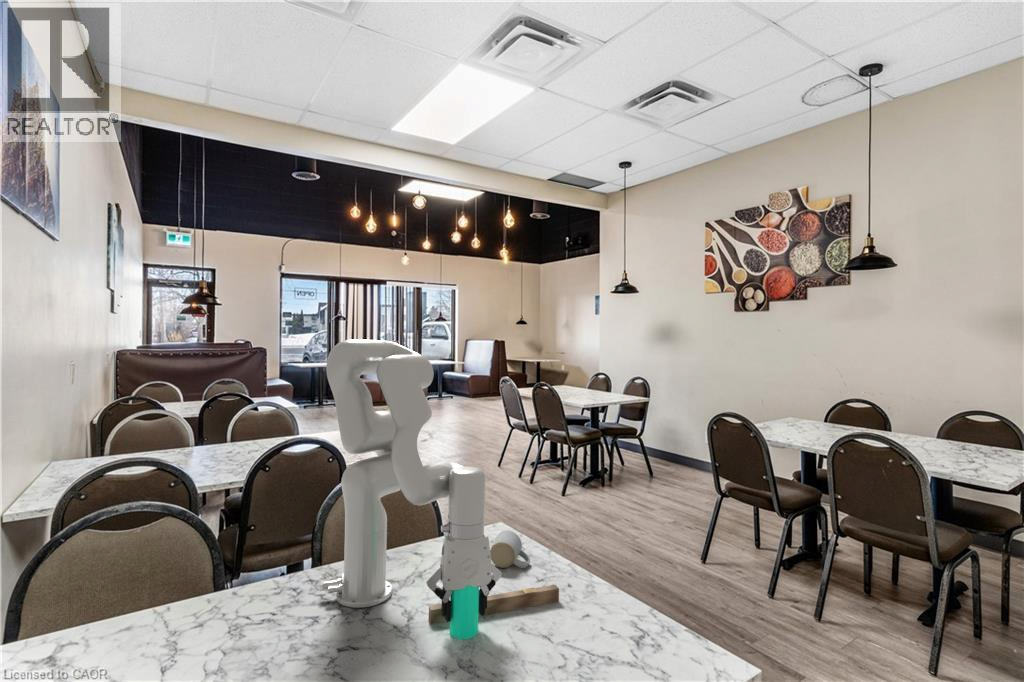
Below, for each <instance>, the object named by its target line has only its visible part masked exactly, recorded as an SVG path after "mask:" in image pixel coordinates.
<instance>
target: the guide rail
mask: <svg viewBox="0 0 1024 682" xmlns="http://www.w3.org/2000/svg"><path fill="white" fill-rule="evenodd" d="M559 599H560V588H559V587H558V586H557V585H556V584H552V585H544V586H540V587H534V586H533V587H528V588H522V589H521V590H516V591H509V592H503V593H502V592H501V593H497V594H492V595H491V594H489V595H488V596H487V609H485V616H486V615H491V614H492V615H493V614H497V613H501V612H502V613H503V612H507V611H514V610H520V609H525V608H531V607H535V606H542V605H548V604H553V603H558V602H559V601H560V600H559ZM441 607H442V603H437V604H431V605H428V621H429V624H430V625H437V624H442V623H448V622H447V621H446V619H445V617H443V616H442V613H441ZM480 616H481V614H480V613H479V611H478V617H480ZM481 617H482V616H481Z"/></svg>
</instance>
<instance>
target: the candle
mask: <svg viewBox="0 0 1024 682" xmlns="http://www.w3.org/2000/svg"><path fill="white" fill-rule="evenodd" d="M479 590H480V587H472V585H470V586H465V588H464V589H461V590H455V591H452V593H451V596H450V598H449V600H450V602H451V621H450V622H449V634H450V635H451V636H452V637H453V638H455V639H459V640H469V639H470V638H471V639H472V638H474V637H476V635H478V633H479V616H478V610H479Z"/></svg>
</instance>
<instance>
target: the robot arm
mask: <svg viewBox="0 0 1024 682" xmlns="http://www.w3.org/2000/svg"><path fill="white" fill-rule="evenodd" d="M325 367H326V368H325V370H326V371H325V372H326V377H327V378H326V379H327V381H328V384H329V387H330V390H331V393H332V396H333V399H334V404H335V410H336V417H337V422H338V423H337V424H338V428H339V434H340V439H341V444H342V447H343V449H344V451H346V452H347V453H348V454H350V455H361V454H362V455H364V454H367V453H373V452H376V455H377V456H373V457H367V458H364V459H361V460H356V461H355V462H353V463H351V464H349V466H347V467H346V468H345V470H344V471H343V474H342V477H341V481H340V483H341V484H340V485H341V491H342V497H343V502H344V546H343V547H344V550H343V551H344V553H343V554H344V556H343V557H344V558H343V559H344V560H343V572H342V573H341V577H337V579H335V580H331V579H330V580H324V581H322V591H328V594H335V593H336V594H335V595H336V596H335V598H336V601H337V603H338V604H340V605H341V606H343V607H348V608H352V609H353V608H355V609H359V608H360V609H361V608H369V607H374V606H376V605H379V604H381V603H383V602H385V601H387V600H388V599H389V598H390V597H391V595H392V593H393V585H392V584H391V582H389V581H388V580H386V578H387V577H386V575H387V539H388V538H387V537H388V534H387V533H388V516H387V512H386V510H385V507H384V505H383V503H382V500H381V498H383V497H385V496H387V495H390V494H394V493H397V492H399V491H401V492H402V494H403V496H404V497H405V499H406V500H407V501H408V502H409V503H411V504H412V505H415V506H425V505H427V504H430V503H433V502H435V501H438V500H441V499H445V498H448V509H447V510H448V511H447V521H446V524H444V525H440V531H441V533H446V534H445V535H444V538H443V543H442V548H441V552H440V553H441V555H440V563H439V564H440V565H439V568H438V569H437V570H436V571H435V572H434V573H433V574H432V575H431V576H430V577H429V579H427V581H426V585H427V586H426V587H428V588H429V589H430V590H431V591H432V592H433V593H434V594H435V595H436V596H437V597H438V598H439V599H440V600H441V604H442V607H441V613H442V616H443V617H445V619H446V621H447V622H446V623H450V621H451V602H450V596H451V593H452V591H455V590H461V589H464V588H465V586H470V585H472V587H479V610H478V611H479V613H480V614H481V617H484V616H486V615H485V609H487V596H490V592H491V591H492V590H493V588H494V587H495V586H496V583H497V582H498V581H499V580H500V578H501V577H502V576H503V573H502V571H501V570H500V569H499V567H498V568H497V566H496V565H495V564H494V563H493V562H492V560H491V553H490V550H491V545H490V538H489V534H488V533H487V531H485V509H486V506H485V503H486V500H485V499H486V474H485V471H484V470H483V469H482V468H480V467H477V466H467V465H466V466H465V465H462V464H459V463H457V462H454V461H451V460H441V461H437V462H433V463H430V464H425V465H423V462H422V460H421V457H420V454H419V451H418V450H419V449H418V437H419V434H420V432H421V430H422V428H423V427H424V425H426V423H429V421H430V420H431V418H432V416H433V411H432V409H431V406H430V405H429V401H428V400H427V397H426V394H425V392H424V389H427V388H428V387H429V386H431V384H432V382H433V380H434V373H435V371H434V368H433V365H432V363H431V362H430V360H429V359H427V357H425V356H424V355H422V354H420V353H418V352H417V351H414V350H412V349H409V348H407V347H405V346H403V345H401V344H398V343H397V342H394V341H391V340H382V339H380V340H379V339H359V338H358V339H357V338H355V339H346V340H342V341H340V342H338V343H336V345H334V346H333V347H332V348H331V350H330V352H329V354H328V357H327V360H326V366H325ZM362 375H375V376H376V378H377V381H378V384H379V386H380V389H381V392H382V395H383V397H384V399H385V403H386V405H387V407H388V410H378V411H376V410H375V407H374V405H373V398H372V394H371V392H370V390H369V388H368V386H367V385H366V383H365V382H364V381H363V379H361V376H362ZM439 581H441V583H442V587H440V586H439V585H438V584H437V583H438V582H439Z"/></svg>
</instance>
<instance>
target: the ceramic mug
mask: <svg viewBox="0 0 1024 682" xmlns="http://www.w3.org/2000/svg"><path fill="white" fill-rule="evenodd" d="M522 544H523V543H522V540H521V538H520V536H518V534H516V533H515V532H514V531H511V530H503V531H501V532H499V533H498V534H497V536H496V537H495V539H494V541H493V543H492V545H491V546H490V553H491V563H492V564H493V565H494V566H495V567H498V568H501V569H507V568H509V567H512V565H513V564H514V565H515V566H516V567H518V568H522V569H525V568H528V567H529V565H530V563H531V557H530V556H529V555H528V554H527V553H526V552H525V551H524V550H522V547H523V545H522ZM518 556H519V557H521V558H522V559H524V561H525V562H523V561H520V559H518Z"/></svg>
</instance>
